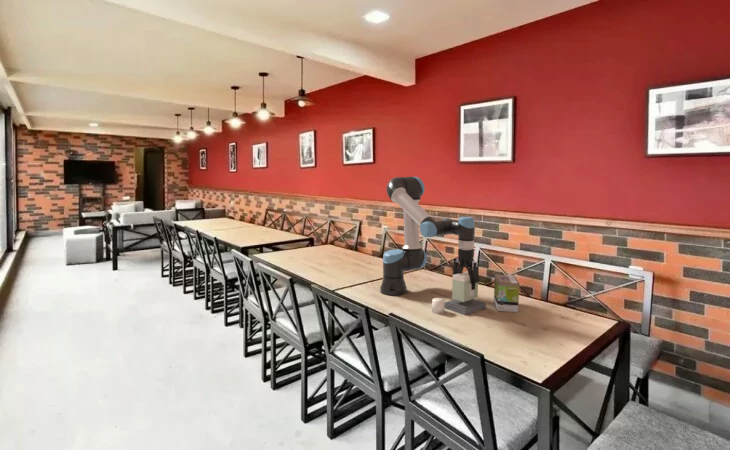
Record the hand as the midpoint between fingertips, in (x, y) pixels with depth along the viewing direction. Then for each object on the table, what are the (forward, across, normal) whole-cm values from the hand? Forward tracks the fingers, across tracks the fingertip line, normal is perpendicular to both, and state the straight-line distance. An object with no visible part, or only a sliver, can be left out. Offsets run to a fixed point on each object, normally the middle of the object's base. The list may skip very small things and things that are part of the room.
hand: (465, 293), depth 197 cm
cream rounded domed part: (+7, -5, -14) cm, 17 cm away
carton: (+2, 0, 0) cm, 2 cm away
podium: (+7, 0, 0) cm, 7 cm away
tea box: (+8, +12, +17) cm, 22 cm away
